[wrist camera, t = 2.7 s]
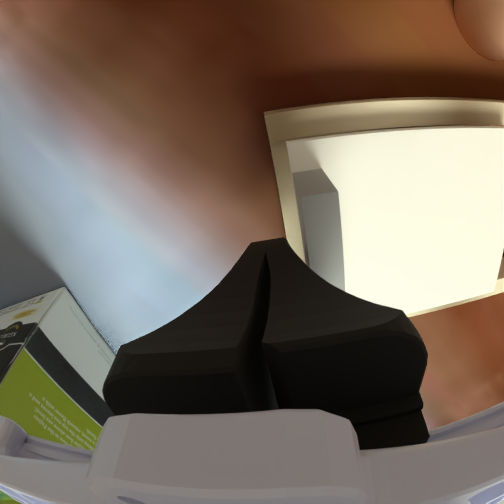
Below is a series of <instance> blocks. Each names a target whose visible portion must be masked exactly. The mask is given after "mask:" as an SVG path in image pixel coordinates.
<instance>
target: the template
mask: <svg viewBox="0 0 504 504" xmlns="http://www.w3.org/2000/svg"><path fill="white" fill-rule="evenodd" d="M264 117H265V122H266V127H267V133H268V138H269V143H270V147H271V153H272V158H273V163H274V169H275V174H276V180H277V185H278V191H279V196H280V202H281V208H282V214H283V220H284V226H285V231H286V238H287V241H288V243H289V245H290V246H291V248H292V249H293V250H294V252H295V253H296V254H297V255H298V256H299V257H300V258H301V259H302V260H303V262H304V263H305V261H304V254H303V246H302V239H301V232H300V225H299V218H298V212H297V205H296V199H295V192H294V186H293V180H292V174H291V168H290V162H289V156H288V150H287V144H286V141H292V140H298V139H305V138H312V137H319V136H327V135H335V134H344V133H353V132H363V131H373V130H385V129H399V128H415V127H438V126H490V125H504V100H493V99H479V98H457V97H403V98H380V99H364V100H352V101H341V102H331V103H322V104H314V105H306V106H299V107H292V108H285V109H279V110H272V111H267V112H264ZM501 292H504V257H502V260H501V264H500V269H499V273H498V278H497V282H496V286H495V290H494V292H490V293H487V294H483V295H480V296H476V297H473V298H469V299H465V300H461V301H458V302H454V303H450V304H446V305H442V306H438V307H434V308H430V309H426V310H421V311H417V312H413V313H408V314H406V316H407V317H411V316H415V315H420V314H424V313H428V312H432V311H436V310H440V309H444V308H448V307H452V306H456V305H459V304H463V303H467V302H470V301H474V300H477V299H481V298H484V297H488V296H491V295H494V294H498V293H501Z"/></svg>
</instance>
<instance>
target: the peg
mask: <svg viewBox="0 0 504 504" xmlns="http://www.w3.org/2000/svg"><path fill="white" fill-rule="evenodd" d="M454 14H455V19H456V22H457V25H458V27H459V29H460V32H461V33H462V35H463V37H464V38H465V40H466V41H467V43H468V44H469V45H470V46H471V47H472V49H473V50H474V51H476V52H477V53H478V54H479V55H481V56H482V57H484V58H486V59H488V60H492V61H504V0H454Z"/></svg>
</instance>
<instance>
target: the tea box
mask: <svg viewBox="0 0 504 504" xmlns="http://www.w3.org/2000/svg"><path fill="white" fill-rule="evenodd" d="M115 357H116V355H115V354H114V353H113V351H112V350H111V349H110V348H109V346H108V345H107V344H106V342H105V341H104V340H103V338H102V337H101V336H100V334H99V333H98V332H97V331H96V329H95V328H94V326H93V325H92V324H91V322H90V321H89V320H88V318H87V317H86V315H85V314H84V312H83V311H82V310H81V308H80V307H79V305H78V304H77V303H76V301H75V300H74V298H73V297H72V295H71V294H70V293H69V292H68V290H67V289H66V288H65V287H62V288H59V289H56V290H53V291H51V292H48V293H45V294H43V295H40V296H37V297H34V298H31V299H29V300H26V301H23V302H21V303H18V304H15V305H12V306H9V307H7V308H4V309H1V310H0V416H3V417H6V418H9V419H11V420H13V421H14V422H16V423H17V424H18V425H20V426H21V427H22V428H23V429H24V430H25V432H26V433H27V434H28V435H31V436H34V437H38V438H41V439H45V440H49V441H53V442H56V443H61V444H65V445H69V446H73V447H78V448H83V449H88V450H93V451H94V450H95V447H96V444H97V441H98V438H99V435H100V433H101V430H102V427H103V426H104V424H105V423H106V421H107V420H108V418H109V417H113V416H115V414H114V413H113V412H112V411H111V409H110V408H109V406H108V405H107V403H106V402H105V400H104V397H103V393H102V389H103V384H104V382H105V379H106V377H107V375H108V372H109V370H110V368H111V366H112V363H113V361H114V359H115ZM0 504H22V503H20V502H18V501H16V500H14V499H13V498H11V497H10V496H8V495H7V494H5V493H4V492H2V491H1V490H0Z"/></svg>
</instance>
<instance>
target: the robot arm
mask: <svg viewBox="0 0 504 504" xmlns="http://www.w3.org/2000/svg"><path fill="white" fill-rule="evenodd" d="M427 358H428V353H427V350H426V347H425V344H424V342H423V340H422V338H421V336H420V334H419V333H418V331H417V330H416V328H415V327H414V325H413V324H412V322H411V321H410V320H409V318H408V317H407V316H406V314H405V313H404V312H403V310H400V309H396V308H392V307H388V306H384V305H380V304H376V303H372V302H370V301H367V300H364V299H361V298H358V297H356V296H354V295H351V294H349V293H347V292H345V291H343V290H341V289H339V288H337V287H335V286H334V285H332V284H330V283H329V282H327V281H326V280H324V279H323V278H322V277H320V276H319V275H318V274H317V273H315V272H314V271H313V270H312V269H311V268H310V267H309V266H307V265H306V264H305V263H304V262H303V260H302V259H301V258H300V257H299V256H298V255H297V254H296V253H295V252H294V250H293V249H292V248H291V246H290V245H289V243H288V241H287V240H286V239H285V238H284V237H283V238H277V239H271V240H265V241H258V242H252V243H250V245H249V246H248V247H247V249H246V250H245V252H244V253H243V254H242V256H241V257H240V259H239V260H238V261H237V263H236V264H235V265H234V266H233V268H232V269H231V270H230V271H229V273H228V274H227V275H226V276H225V277H224V278H223V279H222V281H221V282H220V283H219V284H218V285H217V286H216V287H215V288H214V289H213V290H212V291H211V292H210V293H209V294H207V295H206V296H205V297H204V298H203V299H202V300H201V301H199V302H198V303H197V304H195V305H194V306H193V307H191V308H190V309H188V310H187V311H186V312H184V313H183V314H182V315H180V316H179V317H177V318H176V319H174V320H172V321H171V322H169V323H167V324H166V325H164V326H162V327H160V328H158V329H157V330H155V331H153V332H151V333H149V334H147V335H144V336H142V337H140V338H138V339H135V340H133V341H131V342H129V343H126V344H124V345H121V346H120V348H119V350H118V352H117V355H116V357H115V359H114V361H113V363H112V366H111V368H110V370H109V372H108V375H107V377H106V379H105V382H104V384H103V389H102V393H103V397H104V400H105V402H106V403H107V405H108V406H109V408H110V409H111V411H112V412H113V413H114V414H115V416H113V417H109V418H108V420H107V421H106V423H105V424H104V426H103V427H102V430H101V433H100V435H99V438H98V441H97V444H96V447H95V450H94V451H93V450H88V449H83V448H78V447H73V446H69V445H65V444H61V443H56V442H53V441H49V440H45V439H41V438H38V437H34V436H31V435H28V434H27V433H26V432H25V430H24V429H23V428H22V427H21V426H20V425H18V424H17V423H16V422H14V421H13V420H11V419H9V418H6V417H3V416H0V490H1V491H2V492H4V493H5V494H7V495H8V496H10V497H11V498H13V499H14V500H16V501H18V502H20V503H22V504H497V503H499V502H501V501H503V500H504V402H502V403H500V404H498V405H496V406H493V407H491V408H489V409H486V410H484V411H482V412H479V413H477V414H474V415H472V416H469V417H467V418H464V419H461V420H459V421H456V422H453V423H450V424H448V425H445V426H442V427H439V428H436V429H433V430H429V431H428V429H427V426H426V423H425V420H424V417H423V414H422V411H421V409H422V408H423V401H422V398H421V396H420V393H419V390H420V386H421V383H422V380H423V376H424V373H425V369H426V366H427Z"/></svg>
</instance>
